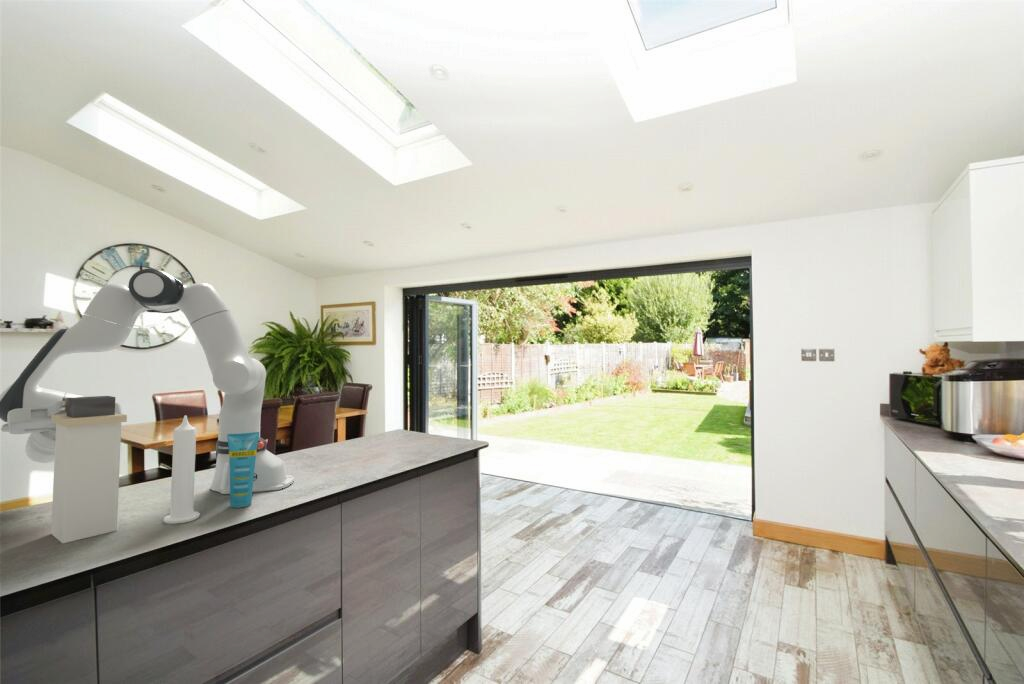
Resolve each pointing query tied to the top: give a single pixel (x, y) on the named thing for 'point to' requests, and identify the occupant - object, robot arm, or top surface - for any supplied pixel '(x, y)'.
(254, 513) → the top surface
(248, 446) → the tube
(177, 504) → the candle
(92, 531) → the shelf post
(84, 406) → the mallet
